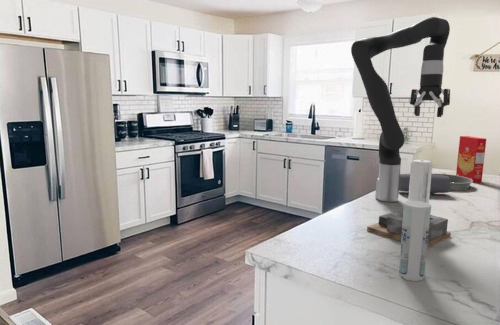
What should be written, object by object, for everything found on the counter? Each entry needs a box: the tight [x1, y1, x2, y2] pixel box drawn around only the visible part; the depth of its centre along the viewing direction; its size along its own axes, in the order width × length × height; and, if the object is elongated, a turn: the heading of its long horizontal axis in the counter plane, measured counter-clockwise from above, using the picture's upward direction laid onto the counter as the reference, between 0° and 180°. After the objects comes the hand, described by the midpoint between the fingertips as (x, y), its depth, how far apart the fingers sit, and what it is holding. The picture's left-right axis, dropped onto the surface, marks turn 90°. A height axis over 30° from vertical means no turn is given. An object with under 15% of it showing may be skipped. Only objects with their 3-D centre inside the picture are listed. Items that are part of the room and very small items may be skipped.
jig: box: [366, 211, 452, 248], centre depth 130 cm, size 21×18×6 cm
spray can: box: [398, 200, 432, 282], centre depth 98 cm, size 6×6×20 cm
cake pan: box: [432, 173, 473, 191], centre depth 202 cm, size 25×25×4 cm
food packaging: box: [455, 135, 487, 184], centre depth 215 cm, size 15×5×25 cm, turn 6°
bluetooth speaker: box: [399, 173, 451, 196], centre depth 184 cm, size 23×9×10 cm, turn 80°
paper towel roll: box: [407, 159, 433, 204], centre depth 126 cm, size 6×6×25 cm
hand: (428, 116), depth 143 cm, fingers open, 8 cm apart
